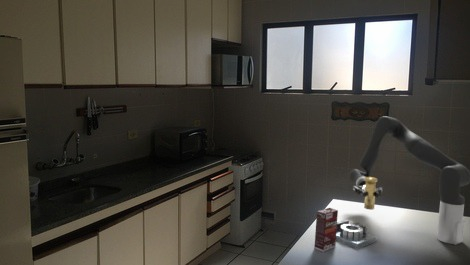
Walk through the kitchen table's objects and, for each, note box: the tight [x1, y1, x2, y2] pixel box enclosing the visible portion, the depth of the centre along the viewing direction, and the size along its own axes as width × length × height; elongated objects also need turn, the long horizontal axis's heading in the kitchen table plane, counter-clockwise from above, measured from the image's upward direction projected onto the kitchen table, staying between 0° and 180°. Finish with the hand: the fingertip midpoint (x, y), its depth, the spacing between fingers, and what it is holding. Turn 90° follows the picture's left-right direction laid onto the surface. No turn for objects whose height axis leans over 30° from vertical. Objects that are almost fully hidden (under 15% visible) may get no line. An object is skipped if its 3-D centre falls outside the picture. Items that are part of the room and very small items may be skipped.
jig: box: [336, 219, 377, 249], centre depth 176 cm, size 16×13×5 cm
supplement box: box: [313, 207, 339, 253], centre depth 165 cm, size 9×5×16 cm, turn 131°
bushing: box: [363, 176, 378, 210], centre depth 186 cm, size 6×6×14 cm
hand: (371, 194), depth 183 cm, fingers closed on bushing, 4 cm apart
